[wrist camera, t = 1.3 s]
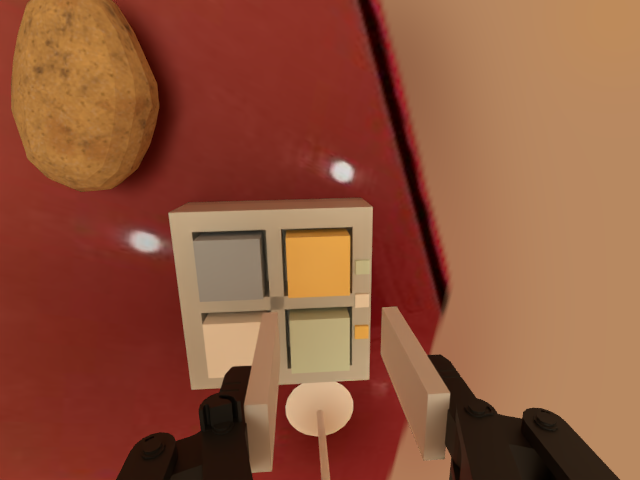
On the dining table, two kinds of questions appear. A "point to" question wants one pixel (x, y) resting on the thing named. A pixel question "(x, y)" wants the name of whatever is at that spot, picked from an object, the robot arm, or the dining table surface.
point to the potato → (82, 93)
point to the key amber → (318, 262)
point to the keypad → (275, 275)
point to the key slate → (230, 266)
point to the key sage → (319, 339)
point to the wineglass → (319, 413)
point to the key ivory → (230, 340)
